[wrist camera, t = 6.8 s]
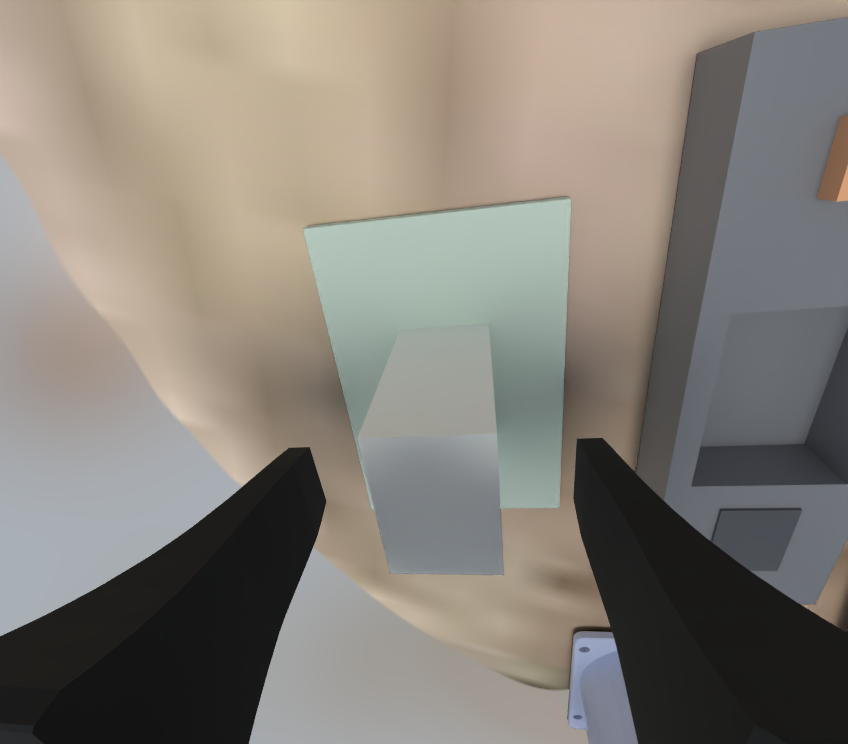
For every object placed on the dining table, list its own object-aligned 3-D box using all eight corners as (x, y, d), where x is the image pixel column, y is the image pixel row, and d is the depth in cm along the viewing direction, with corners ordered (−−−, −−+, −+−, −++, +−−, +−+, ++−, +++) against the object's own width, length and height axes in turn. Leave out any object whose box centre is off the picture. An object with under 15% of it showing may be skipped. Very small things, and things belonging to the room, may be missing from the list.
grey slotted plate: (774, 548, 18) (826, 620, 15) (625, 547, 19) (650, 615, 16) (982, 9, 10) (1178, -41, 7) (697, 53, 11) (773, 24, 8)
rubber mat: (557, 498, 18) (559, 507, 18) (374, 501, 19) (371, 509, 19) (567, 196, 12) (571, 198, 12) (308, 226, 14) (302, 229, 13)
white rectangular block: (494, 433, 16) (503, 575, 11) (416, 436, 17) (389, 573, 11) (488, 323, 14) (497, 433, 9) (399, 329, 15) (357, 438, 9)
